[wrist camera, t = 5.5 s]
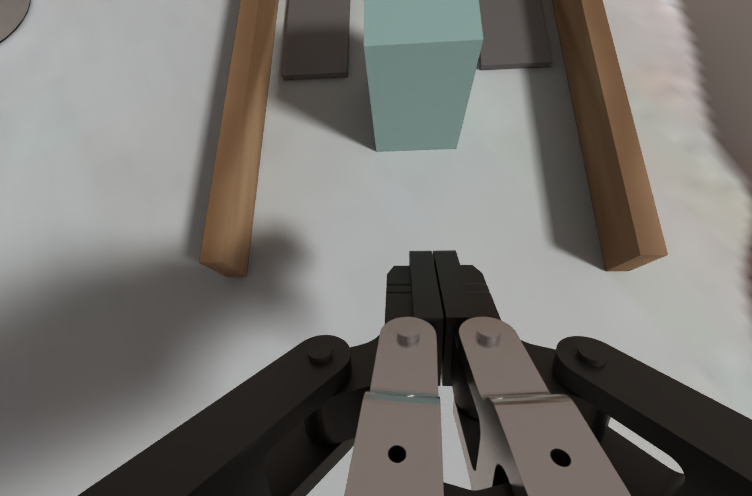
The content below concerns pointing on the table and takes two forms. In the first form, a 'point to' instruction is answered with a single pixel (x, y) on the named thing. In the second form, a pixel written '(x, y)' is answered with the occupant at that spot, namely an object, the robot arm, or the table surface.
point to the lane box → (591, 107)
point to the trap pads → (331, 37)
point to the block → (420, 70)
